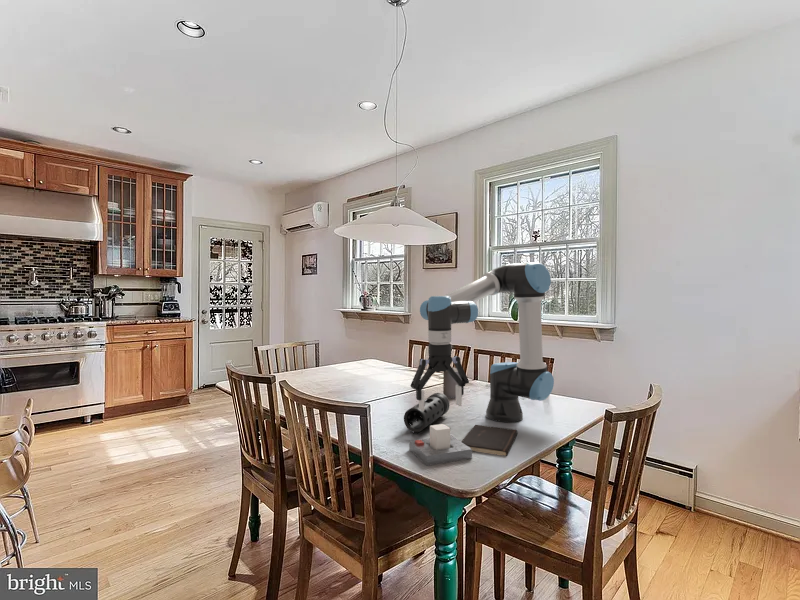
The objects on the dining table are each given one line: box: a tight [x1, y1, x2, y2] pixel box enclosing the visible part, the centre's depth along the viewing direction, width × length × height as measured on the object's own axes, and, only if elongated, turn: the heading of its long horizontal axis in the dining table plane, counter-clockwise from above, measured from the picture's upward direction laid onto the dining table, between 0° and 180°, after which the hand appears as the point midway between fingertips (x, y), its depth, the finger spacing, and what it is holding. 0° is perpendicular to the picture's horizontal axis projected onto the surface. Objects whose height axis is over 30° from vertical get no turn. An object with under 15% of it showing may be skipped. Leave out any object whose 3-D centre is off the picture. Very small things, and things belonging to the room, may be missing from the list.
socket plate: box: [408, 434, 473, 467], centre depth 142 cm, size 16×14×4 cm
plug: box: [429, 423, 451, 450], centre depth 142 cm, size 5×5×9 cm
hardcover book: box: [461, 424, 518, 457], centre depth 154 cm, size 16×23×2 cm
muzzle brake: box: [403, 392, 451, 435], centre depth 174 cm, size 10×28×10 cm, turn 154°
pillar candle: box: [442, 366, 462, 399], centre depth 219 cm, size 10×10×15 cm
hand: (440, 407), depth 142 cm, fingers open, 13 cm apart
